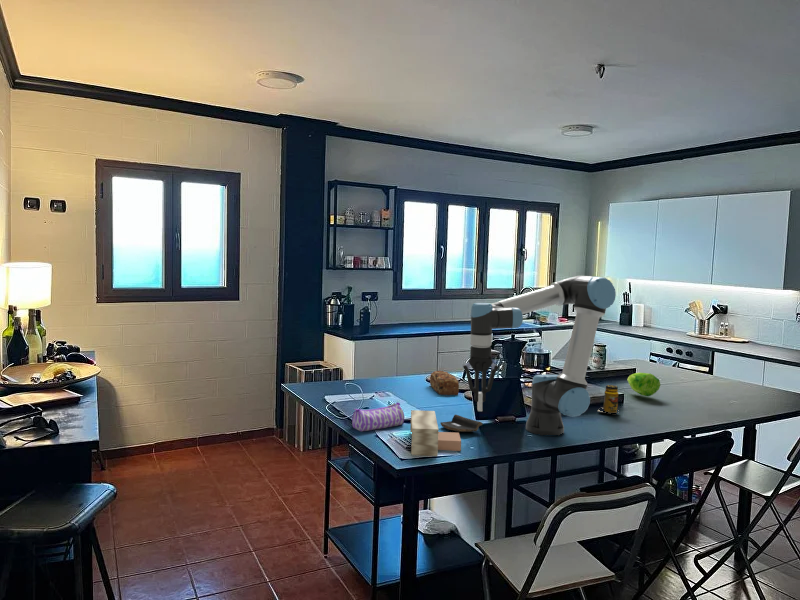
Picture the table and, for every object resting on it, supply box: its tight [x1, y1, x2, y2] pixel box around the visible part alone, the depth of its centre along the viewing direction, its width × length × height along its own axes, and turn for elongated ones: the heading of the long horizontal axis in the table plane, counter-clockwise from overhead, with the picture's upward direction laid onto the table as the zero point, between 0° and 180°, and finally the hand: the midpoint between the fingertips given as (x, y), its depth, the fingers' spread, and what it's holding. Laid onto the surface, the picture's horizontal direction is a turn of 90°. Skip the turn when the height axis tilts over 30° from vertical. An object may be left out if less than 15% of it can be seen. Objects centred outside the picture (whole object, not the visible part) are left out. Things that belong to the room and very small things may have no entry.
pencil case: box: [351, 402, 405, 432], centre depth 235 cm, size 22×9×10 cm, turn 131°
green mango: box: [627, 372, 661, 397], centre depth 313 cm, size 14×20×12 cm
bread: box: [429, 370, 460, 396], centre depth 301 cm, size 19×11×10 cm, turn 11°
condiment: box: [597, 384, 619, 414], centre depth 274 cm, size 7×8×12 cm
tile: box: [438, 431, 462, 452], centre depth 217 cm, size 14×10×4 cm
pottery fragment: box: [440, 414, 483, 433], centre depth 236 cm, size 15×12×4 cm
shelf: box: [409, 409, 440, 457], centre depth 217 cm, size 9×24×10 cm, turn 0°
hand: (479, 410), depth 216 cm, fingers closed
